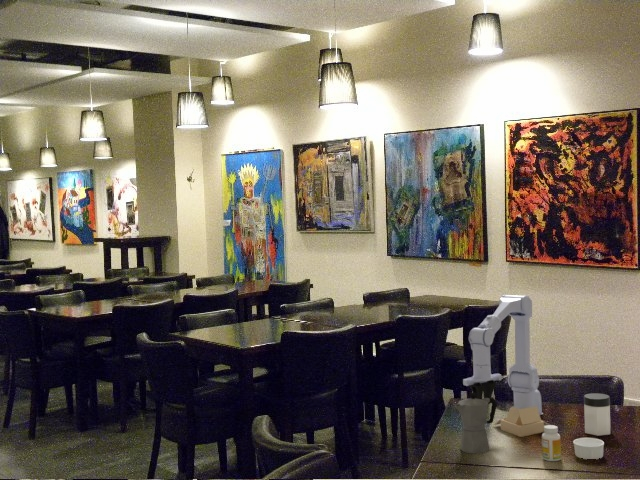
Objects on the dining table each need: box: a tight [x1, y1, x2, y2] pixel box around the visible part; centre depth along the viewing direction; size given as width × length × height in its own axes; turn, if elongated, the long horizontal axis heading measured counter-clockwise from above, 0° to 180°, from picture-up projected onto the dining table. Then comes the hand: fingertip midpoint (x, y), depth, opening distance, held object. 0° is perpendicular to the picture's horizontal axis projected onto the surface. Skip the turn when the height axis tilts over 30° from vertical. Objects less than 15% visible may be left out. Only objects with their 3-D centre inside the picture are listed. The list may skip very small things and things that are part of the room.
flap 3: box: [518, 406, 542, 425], centre depth 267 cm, size 8×1×5 cm, turn 117°
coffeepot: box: [454, 392, 498, 455], centre depth 253 cm, size 15×9×18 cm, turn 113°
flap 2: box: [505, 406, 519, 424], centre depth 269 cm, size 1×5×5 cm
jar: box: [583, 392, 611, 437], centre depth 265 cm, size 9×8×12 cm
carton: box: [499, 416, 545, 438], centre depth 271 cm, size 10×10×4 cm
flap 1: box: [493, 417, 506, 426], centre depth 277 cm, size 9×1×5 cm
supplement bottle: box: [541, 424, 562, 462], centre depth 241 cm, size 5×5×10 cm
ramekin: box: [572, 437, 605, 460], centre depth 242 cm, size 9×9×4 cm
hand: (483, 404), depth 269 cm, fingers open, 3 cm apart
